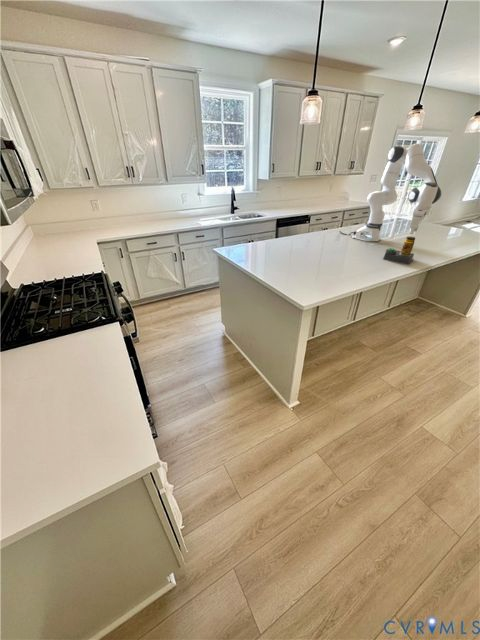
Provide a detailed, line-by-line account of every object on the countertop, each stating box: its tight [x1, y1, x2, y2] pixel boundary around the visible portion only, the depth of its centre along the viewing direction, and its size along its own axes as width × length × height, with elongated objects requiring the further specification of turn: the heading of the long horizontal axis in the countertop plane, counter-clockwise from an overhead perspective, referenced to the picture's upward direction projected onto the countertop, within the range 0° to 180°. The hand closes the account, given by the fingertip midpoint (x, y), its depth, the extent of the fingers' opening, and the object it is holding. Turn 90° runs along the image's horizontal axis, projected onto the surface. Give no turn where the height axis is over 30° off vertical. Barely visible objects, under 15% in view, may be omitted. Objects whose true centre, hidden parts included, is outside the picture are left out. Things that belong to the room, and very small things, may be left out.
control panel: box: [383, 248, 415, 265], centre depth 185 cm, size 17×13×6 cm
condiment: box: [399, 236, 416, 256], centre depth 180 cm, size 7×8×12 cm
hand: (413, 232), depth 174 cm, fingers open, 8 cm apart
